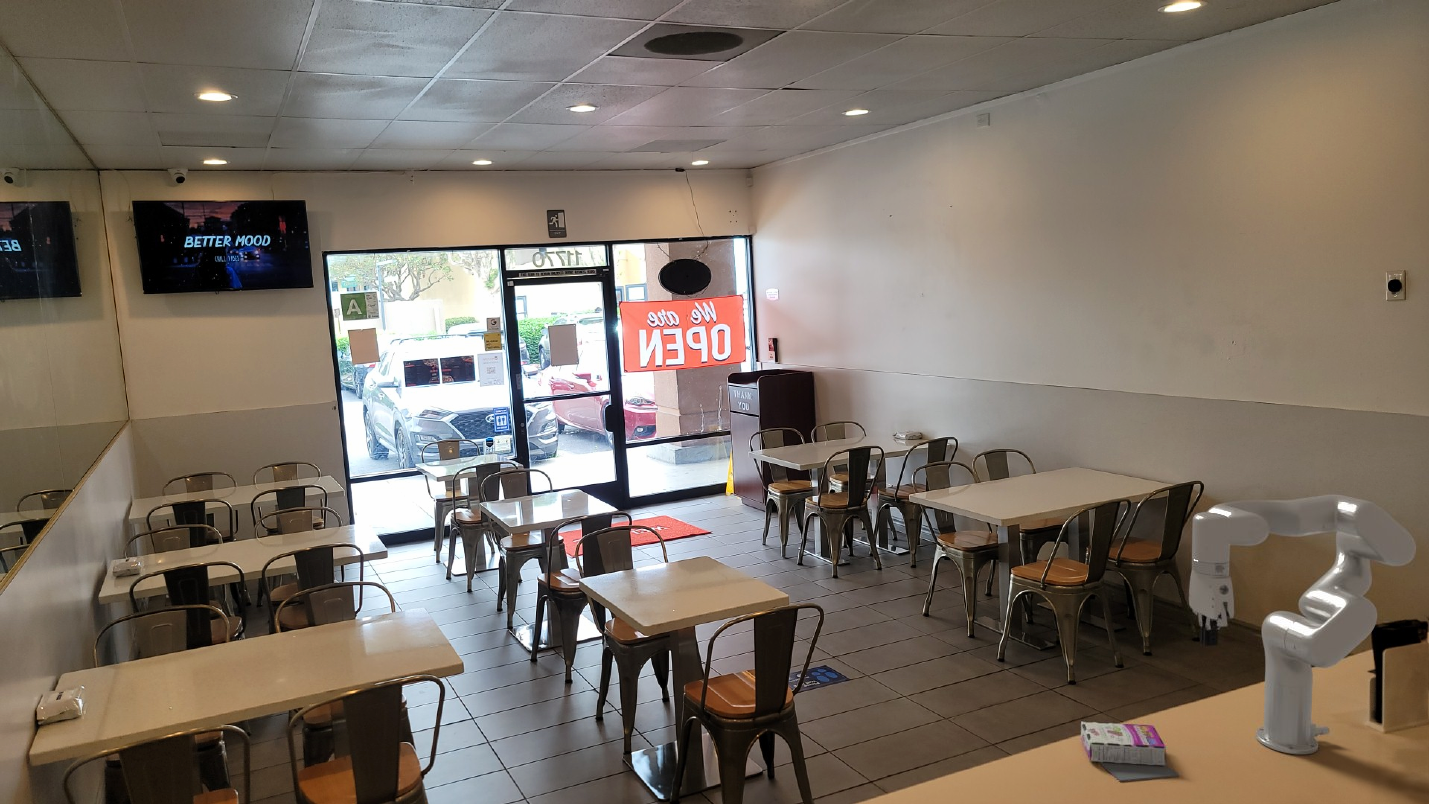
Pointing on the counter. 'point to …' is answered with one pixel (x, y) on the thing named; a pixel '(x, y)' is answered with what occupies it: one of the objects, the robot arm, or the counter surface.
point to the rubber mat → (1138, 771)
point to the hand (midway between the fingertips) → (1209, 644)
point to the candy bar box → (1123, 743)
